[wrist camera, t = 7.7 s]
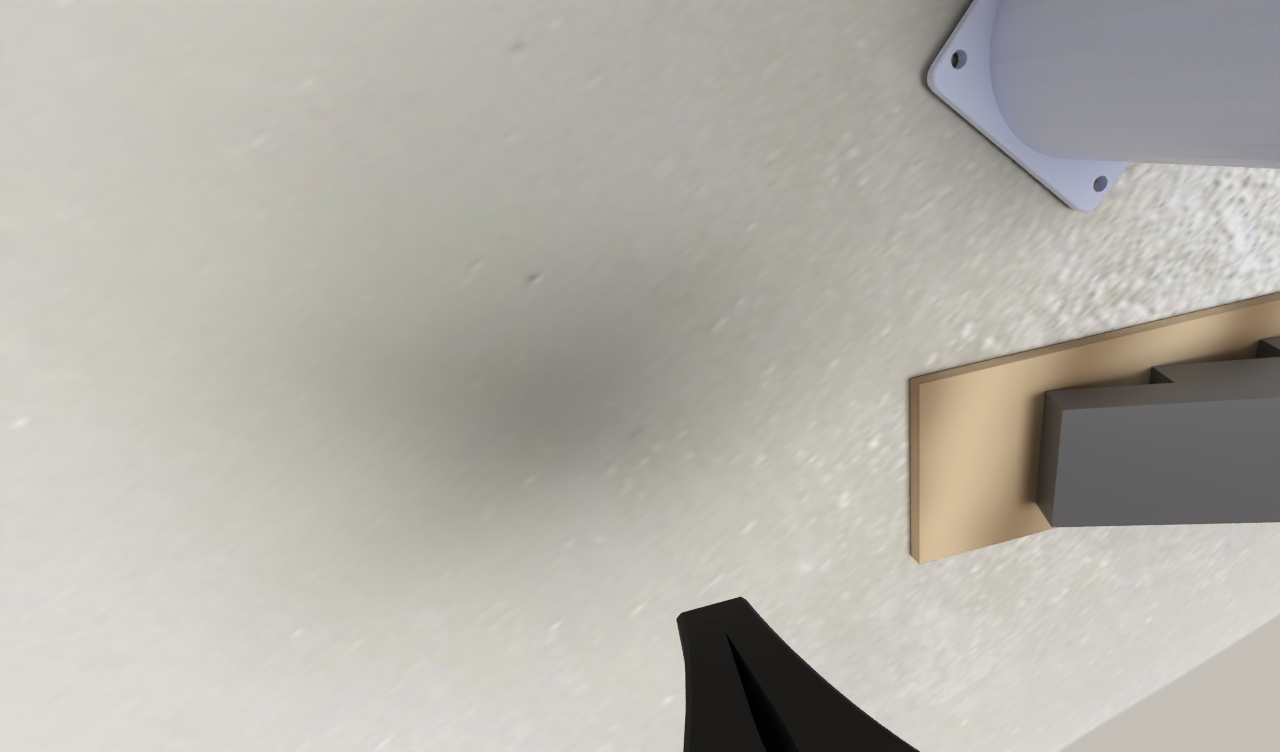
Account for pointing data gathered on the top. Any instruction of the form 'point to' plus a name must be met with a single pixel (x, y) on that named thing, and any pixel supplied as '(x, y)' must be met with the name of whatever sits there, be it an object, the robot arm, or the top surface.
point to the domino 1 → (1215, 370)
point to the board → (1038, 418)
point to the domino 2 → (1161, 454)
